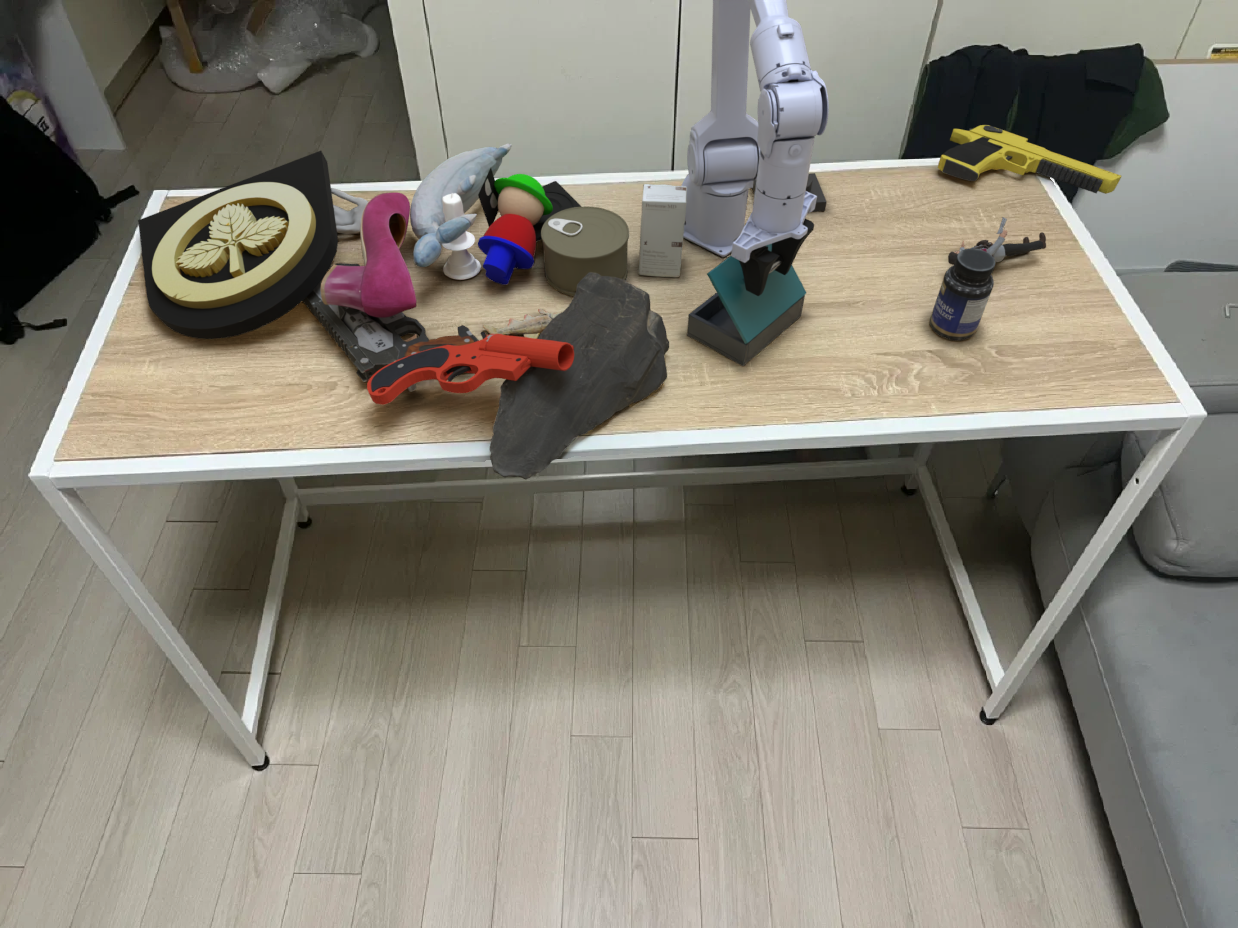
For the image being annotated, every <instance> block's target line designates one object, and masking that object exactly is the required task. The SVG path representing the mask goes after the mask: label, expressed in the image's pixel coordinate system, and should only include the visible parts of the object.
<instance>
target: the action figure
mask: <svg viewBox="0 0 1238 928" xmlns="http://www.w3.org/2000/svg"><path fill="white" fill-rule="evenodd" d="M1007 221H1008V218H1006V217H1004V216H1002V217H1001V221H1000V224H999V227H998V230H997V233H995V234H996V235H998V237H997V238H996V240H995V242H994V243H992V241H989V240H988V239H981V240H979V241H977V243H976V244H975V245H974V246H972V247H971V248H974V249H980V250H983V251H986V252H987V253H989V254H991V255H992V256H993V258H994V259H995V264H997V263H1000V262H1002V261H1003V260H1004V259H1005V257H1013V256H1018V255H1022V254H1023V255H1025V254H1029V253H1031V252H1033V251H1040V250H1045V249H1046V248H1047V237H1046V236H1047V235H1046V234H1045V232H1043V231H1041V232H1039V234H1038V237H1039V238H1038V239H1039V240H1034V241H1031V242H1030V238H1029V237H1028V236H1024V237H1023V239H1022V242H1020V243H1019V242H1017V243H1012V242H1011V243H1004V242H1005V241H1006V237H1007V236H1008V231H1007V230H1006V227H1005V225H1006V223H1007ZM965 245H966V244H965V240H962V242H961V247H959V250H954V251H953V250H952V251H950V252H949V253H948V255H947V259H948V262H947V263H948V264H950V265H952V266H953V265H955V260H956V258H957V255H958V253H959V252H960V251H962V250H964V249H965ZM971 248H970V247H969V249H971Z"/></svg>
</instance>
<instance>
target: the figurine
mask: <svg viewBox="0 0 1238 928" xmlns="http://www.w3.org/2000/svg"><path fill="white" fill-rule="evenodd" d="M331 192H332V195H335V196H336V197H338V198H339V199H342V200H345V201H348V202H350V203H352V204H354V205H357V206H354V207H353V208H351V209H350V210H346V209H344V208H342V207H341V206H339V205H336V204H333V207H334V214H335V221H336V229H337V234H347V235H351V234H361V232H360V227H361V218H362V214H363V211H364V208H365V206H366V205H367V203H368V202H369V201H368V200H367V199H365V198H363V197H359V196H357V197H356V196H353V195H351V194H348V193H347V192H345V191H343V190H341V189H338V188H335V187H331Z"/></svg>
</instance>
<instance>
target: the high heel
mask: <svg viewBox="0 0 1238 928" xmlns="http://www.w3.org/2000/svg"><path fill="white" fill-rule="evenodd" d="M410 208H411V203H410V201H409V198H408V197H407V196H406V194H404V193H402V192H396V191H395V192H382V193H379V194H376V195H374V196H373V197H372V198H371V199H369V201H368V203H367V205H366V206H365V208H364V211H363V214H362V218H361V227H360V247H361V249H360V250H361V255H362V261H363V265H360V266H341V265H334V264H335V263H332V265H333V266H332V267H331V268H330V269H329V270H328V271H327V274H326V275H325V276H324V278H323V280H322V283H321V297H322V301H323V303H324V304H325V305H339V306H345V307H350V308H354V309H358V310H361V311H363V312H366V313H367V314H368V315H370V316H374V317H380V318H386V317H391V316H393V315H396V314H398V313H401V312H403V313H404V312H406V311H409V310H413V309H416V308H417V297H416V291H415V287H414V284H413V280H412V276H411V274H410V271H409V269H408V266H407V263H406V262H405V259H404V257H403V255H402V253H401V250H400V249H401V247H402V245H403V243H404V241H405V238H406V235H407V232H408V231H407V230H408V226H409V222H410V221H409V220H410Z"/></svg>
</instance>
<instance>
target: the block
mask: <svg viewBox="0 0 1238 928" xmlns="http://www.w3.org/2000/svg"><path fill="white" fill-rule="evenodd" d="M755 188H756V180H754V182H753V188H751V189H752V193H753V197H754V196H755ZM806 191H807V192H809V193H811V194H814V195H816V196H817V199H816V204H815V209H814V210H813V211H812V212H811V213H814V212H825V211H826V207H827V202H828V201H827V199H826V196H825V194H824V191H823V190H822V187H821V184H820V182H819V179H818V177H817V175H816V172H811V173H810V172H809V175H808V180H807V186H806Z"/></svg>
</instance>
